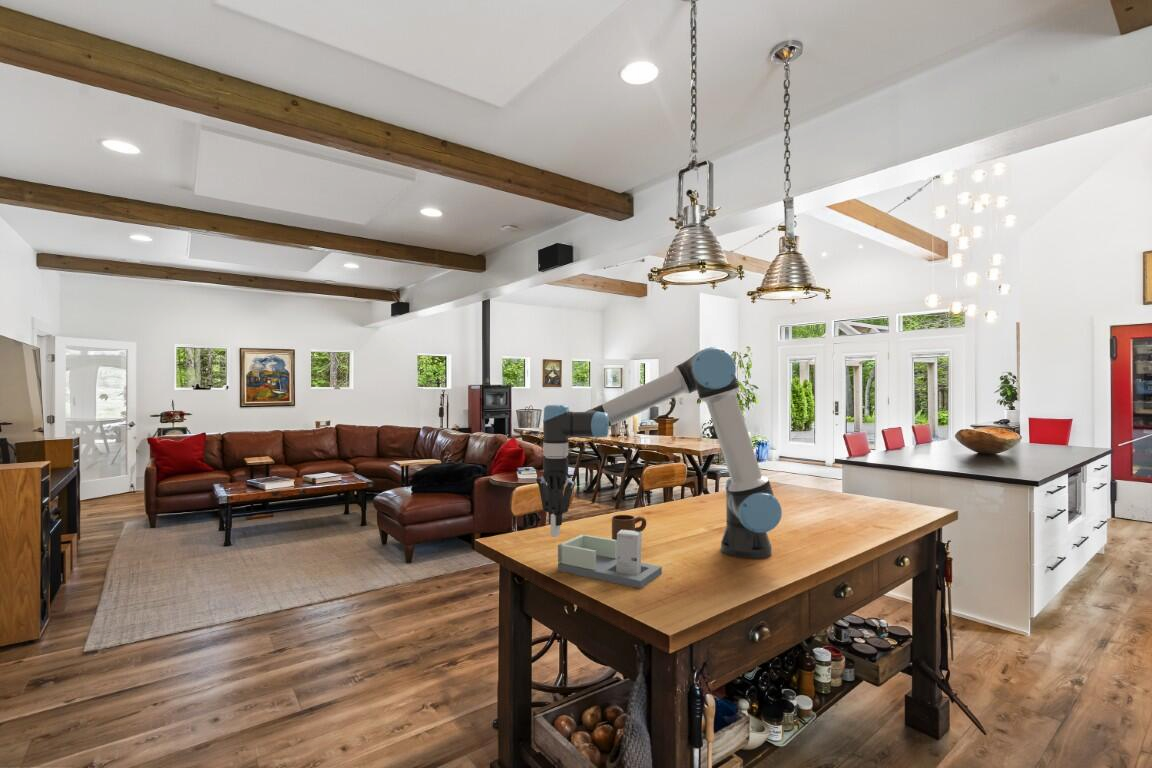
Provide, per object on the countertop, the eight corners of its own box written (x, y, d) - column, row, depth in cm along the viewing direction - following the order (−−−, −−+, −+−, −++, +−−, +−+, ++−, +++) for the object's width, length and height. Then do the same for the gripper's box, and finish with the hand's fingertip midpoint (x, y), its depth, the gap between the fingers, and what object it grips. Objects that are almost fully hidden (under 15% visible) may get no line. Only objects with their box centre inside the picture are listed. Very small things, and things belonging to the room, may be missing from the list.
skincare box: (615, 577, 148) (615, 533, 148) (620, 572, 152) (620, 529, 152) (637, 580, 146) (637, 535, 146) (642, 575, 150) (641, 531, 150)
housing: (617, 557, 158) (616, 540, 158) (594, 569, 147) (594, 551, 147) (582, 550, 165) (582, 534, 165) (557, 562, 154) (557, 544, 154)
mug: (641, 540, 183) (641, 512, 183) (651, 546, 176) (651, 517, 176) (608, 544, 180) (608, 515, 180) (617, 550, 172) (617, 521, 172)
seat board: (661, 573, 151) (661, 566, 151) (640, 588, 140) (640, 580, 140) (582, 558, 165) (582, 551, 165) (557, 570, 154) (557, 563, 154)
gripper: (580, 457, 162) (580, 536, 162) (545, 453, 169) (545, 529, 169) (566, 459, 156) (566, 542, 155) (530, 456, 163) (530, 535, 163)
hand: (555, 535), depth 162 cm, fingers closed
